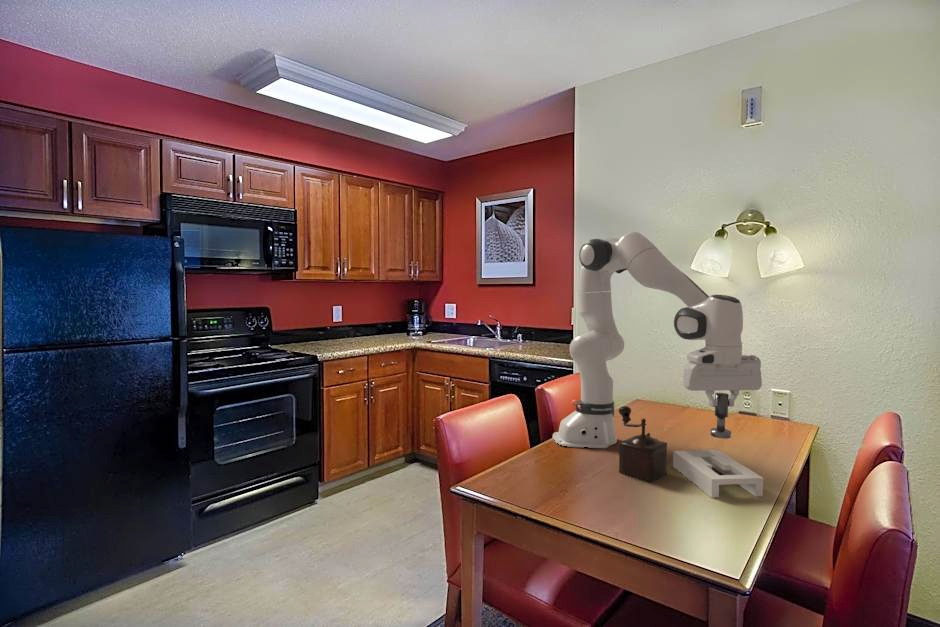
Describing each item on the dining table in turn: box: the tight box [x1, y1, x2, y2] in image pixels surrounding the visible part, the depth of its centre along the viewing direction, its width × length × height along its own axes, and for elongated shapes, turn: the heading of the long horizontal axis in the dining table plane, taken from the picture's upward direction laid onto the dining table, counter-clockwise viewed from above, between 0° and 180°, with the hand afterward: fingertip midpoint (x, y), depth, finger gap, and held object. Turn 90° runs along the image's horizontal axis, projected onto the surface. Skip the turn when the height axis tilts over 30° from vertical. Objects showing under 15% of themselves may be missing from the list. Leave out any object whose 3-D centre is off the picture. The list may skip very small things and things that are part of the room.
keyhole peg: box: [709, 392, 732, 440], centre depth 137 cm, size 5×5×12 cm
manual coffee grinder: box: [618, 405, 668, 483], centre depth 152 cm, size 16×11×18 cm
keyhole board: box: [672, 449, 764, 499], centre depth 145 cm, size 14×22×5 cm, turn 3°
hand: (721, 406), depth 137 cm, fingers closed on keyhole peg, 3 cm apart
